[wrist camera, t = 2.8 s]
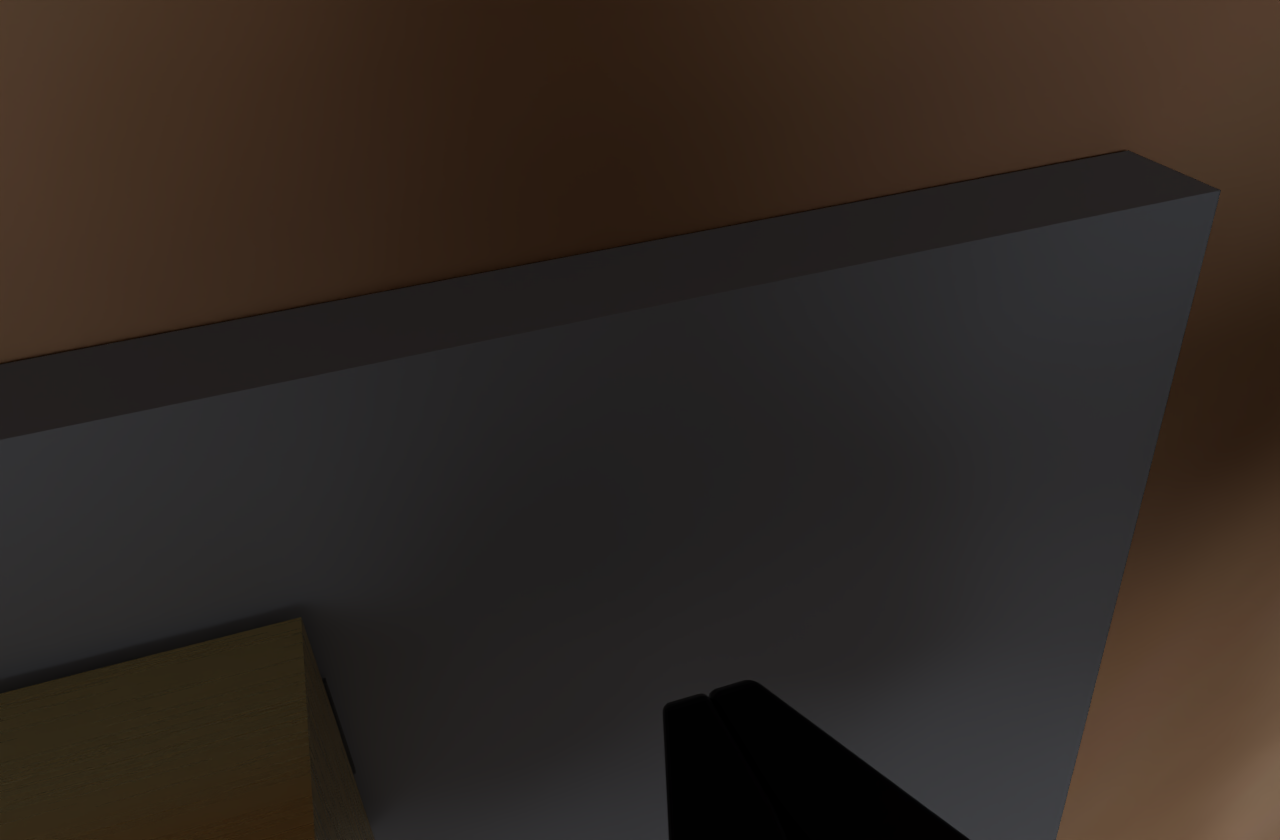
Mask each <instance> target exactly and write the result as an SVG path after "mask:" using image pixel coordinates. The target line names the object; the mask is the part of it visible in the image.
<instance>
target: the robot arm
mask: <svg viewBox="0 0 1280 840" xmlns="http://www.w3.org/2000/svg"><path fill="white" fill-rule="evenodd" d="M663 733H664V754H665V774H666V794H667V814H668V835H669V840H970V839H969V838H967V837H966V836H965V835H963V834H962V833H961V832H959V831H958V830H957V829H955V828H954V827H952V826H951V825H950V824H948V823H947V822H946V821H944V820H943V819H942V818H940V817H939V816H938V815H936V814H935V813H934V812H932V811H931V810H930V809H928V808H927V807H926V806H924V805H923V804H922V803H920V802H919V801H917V800H916V799H915V798H913V797H912V796H911V795H909V794H908V793H907V792H905V791H904V790H903V789H901V788H900V787H899V786H897V785H896V784H895V783H893V782H892V781H891V780H889V779H888V778H886V777H885V776H884V775H882V774H881V773H880V772H878V771H877V770H876V769H874V768H873V767H872V766H870V765H869V764H868V763H866V762H865V761H864V760H862V759H861V758H860V757H858V756H857V755H856V754H854V753H853V752H851V751H850V750H849V749H847V748H846V747H845V746H843V745H842V744H841V743H839V742H838V741H837V740H835V739H834V738H833V737H831V736H830V735H829V734H827V733H826V732H825V731H823V730H822V729H821V728H819V727H818V726H816V725H815V724H814V723H812V722H811V721H810V720H808V719H807V718H806V717H804V716H803V715H802V714H800V713H799V712H798V711H796V710H795V709H794V708H792V707H791V706H790V705H788V704H787V703H785V702H784V701H783V700H781V699H780V698H779V697H777V696H776V695H775V694H773V693H772V692H771V691H769V690H768V689H767V688H765V687H764V686H763V685H761V684H760V683H758V682H756V681H753V680H743V681H739V682H736V683H733V684H729V685H726V686H723V687H719V688H716V689H714V690H712V691H711V692H710V693H709V696H707V695H706V694H703V693H702V694H696V695H692V696H689V697H685V698H682V699H679V700H675V701H672V702H669V703H667V704H666V705H665V706H664V707H663Z"/></svg>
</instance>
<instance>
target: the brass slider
mask: <svg viewBox="0 0 1280 840" xmlns="http://www.w3.org/2000/svg"><path fill="white" fill-rule="evenodd" d="M0 840H375V838H374V835H373V832H372V829H371V826H370V823H369V820H368V816H367V813H366V810H365V807H364V804H363V801H362V798H361V795H360V792H359V789H358V786H357V783H356V780H355V777H354V774H353V771H352V768H351V765H350V762H349V759H348V756H347V753H346V750H345V747H344V744H343V741H342V738H341V735H340V732H339V729H338V726H337V723H336V720H335V717H334V714H333V711H332V708H331V705H330V702H329V699H328V696H327V693H326V690H325V687H324V684H323V681H322V678H321V675H320V672H319V669H318V666H317V663H316V660H315V657H314V654H313V651H312V648H311V645H310V642H309V639H308V636H307V633H306V630H305V627H304V624H303V621H302V618H301V617H299V618H295V619H291V620H287V621H283V622H280V623H276V624H272V625H268V626H264V627H260V628H256V629H252V630H248V631H244V632H240V633H236V634H232V635H228V636H225V637H221V638H217V639H213V640H209V641H205V642H201V643H197V644H193V645H189V646H185V647H181V648H177V649H173V650H170V651H166V652H162V653H158V654H154V655H150V656H146V657H142V658H138V659H134V660H130V661H126V662H122V663H118V664H115V665H111V666H107V667H103V668H99V669H95V670H91V671H87V672H83V673H79V674H75V675H71V676H67V677H63V678H60V679H56V680H52V681H48V682H44V683H40V684H36V685H32V686H28V687H24V688H20V689H16V690H12V691H8V692H5V693H1V694H0Z"/></svg>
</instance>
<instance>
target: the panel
mask: <svg viewBox="0 0 1280 840" xmlns="http://www.w3.org/2000/svg"><path fill="white" fill-rule="evenodd" d="M1220 191H1221V190H1219V189H1217V188H1214V187H1212V186H1210V185H1207V184H1205V183H1203V182H1200V181H1198V180H1196V179H1193V178H1191V177H1189V176H1186V175H1184V174H1182V173H1180V172H1177V171H1175V170H1173V169H1170V168H1168V167H1166V166H1163V165H1161V164H1159V163H1156V162H1154V161H1152V160H1149V159H1147V158H1145V157H1142V156H1140V155H1138V154H1135V153H1133V152H1131V151H1129V150H1128V151H1123V152H1118V153H1113V154H1107V155H1102V156H1097V157H1092V158H1086V159H1081V160H1076V161H1070V162H1065V163H1060V164H1055V165H1049V166H1044V167H1039V168H1034V169H1028V170H1023V171H1018V172H1012V173H1007V174H1002V175H997V176H991V177H986V178H981V179H976V180H970V181H965V182H960V183H955V184H949V185H944V186H939V187H933V188H928V189H923V190H918V191H912V192H907V193H902V194H897V195H891V196H886V197H881V198H875V199H870V200H865V201H860V202H854V203H849V204H844V205H839V206H833V207H828V208H823V209H817V210H812V211H807V212H802V213H796V214H791V215H786V216H781V217H775V218H770V219H765V220H759V221H754V222H749V223H744V224H738V225H733V226H728V227H723V228H717V229H712V230H707V231H701V232H696V233H691V234H686V235H680V236H675V237H670V238H665V239H659V240H654V241H649V242H643V243H638V244H633V245H628V246H622V247H617V248H612V249H607V250H601V251H596V252H591V253H585V254H580V255H575V256H570V257H564V258H559V259H554V260H549V261H543V262H538V263H533V264H527V265H522V266H517V267H512V268H506V269H501V270H496V271H491V272H485V273H480V274H475V275H469V276H464V277H459V278H454V279H448V280H443V281H438V282H433V283H427V284H422V285H417V286H411V287H406V288H401V289H396V290H390V291H385V292H380V293H375V294H369V295H364V296H359V297H353V298H348V299H343V300H338V301H332V302H327V303H322V304H317V305H311V306H306V307H301V308H295V309H290V310H285V311H280V312H274V313H269V314H264V315H259V316H253V317H248V318H243V319H237V320H232V321H227V322H222V323H216V324H211V325H206V326H201V327H195V328H190V329H185V330H179V331H174V332H169V333H164V334H158V335H153V336H148V337H143V338H137V339H132V340H127V341H122V342H116V343H111V344H106V345H100V346H95V347H90V348H85V349H79V350H74V351H69V352H64V353H58V354H53V355H48V356H42V357H37V358H32V359H27V360H21V361H16V362H11V363H6V364H0V694H1V693H5V692H8V691H12V690H16V689H20V688H24V687H28V686H32V685H36V684H40V683H44V682H48V681H52V680H56V679H60V678H63V677H67V676H71V675H75V674H79V673H83V672H87V671H91V670H95V669H99V668H103V667H107V666H111V665H115V664H118V663H122V662H126V661H130V660H134V659H138V658H142V657H146V656H150V655H154V654H158V653H162V652H166V651H170V650H173V649H177V648H181V647H185V646H189V645H193V644H197V643H201V642H205V641H209V640H213V639H217V638H221V637H225V636H228V635H232V634H236V633H240V632H244V631H248V630H252V629H256V628H260V627H264V626H268V625H272V624H276V623H280V622H283V621H287V620H291V619H295V618H299V617H301V618H302V621H303V624H304V627H305V630H306V633H307V636H308V639H309V642H310V645H311V648H312V651H313V654H314V657H315V660H316V663H317V666H318V669H319V672H320V675H321V678H322V681H323V684H324V687H325V690H326V693H327V696H328V699H329V702H330V705H331V708H332V711H333V714H334V717H335V720H336V723H337V726H338V729H339V732H340V735H341V738H342V741H343V744H344V747H345V750H346V753H347V756H348V759H349V762H350V765H351V768H352V771H353V774H354V777H355V780H356V783H357V786H358V789H359V792H360V795H361V798H362V801H363V804H364V807H365V810H366V813H367V816H368V820H369V823H370V826H371V829H372V832H373V835H374V838H375V840H669V835H668V814H667V794H666V774H665V754H664V733H663V707H664V706H665V705H666V704H667V703H669V702H672V701H675V700H679V699H682V698H685V697H689V696H692V695H696V694H702V693H703V694H706V695H707V696H709V693H710V692H711V691H712V690H714V689H716V688H719V687H723V686H726V685H729V684H733V683H736V682H739V681H743V680H753V681H756V682H758V683H760V684H761V685H763V686H764V687H765V688H767V689H768V690H769V691H771V692H772V693H773V694H775V695H776V696H777V697H779V698H780V699H781V700H783V701H784V702H785V703H787V704H788V705H790V706H791V707H792V708H794V709H795V710H796V711H798V712H799V713H800V714H802V715H803V716H804V717H806V718H807V719H808V720H810V721H811V722H812V723H814V724H815V725H816V726H818V727H819V728H821V729H822V730H823V731H825V732H826V733H827V734H829V735H830V736H831V737H833V738H834V739H835V740H837V741H838V742H839V743H841V744H842V745H843V746H845V747H846V748H847V749H849V750H850V751H851V752H853V753H854V754H856V755H857V756H858V757H860V758H861V759H862V760H864V761H865V762H866V763H868V764H869V765H870V766H872V767H873V768H874V769H876V770H877V771H878V772H880V773H881V774H882V775H884V776H885V777H886V778H888V779H889V780H891V781H892V782H893V783H895V784H896V785H897V786H899V787H900V788H901V789H903V790H904V791H905V792H907V793H908V794H909V795H911V796H912V797H913V798H915V799H916V800H917V801H919V802H920V803H922V804H923V805H924V806H926V807H927V808H928V809H930V810H931V811H932V812H934V813H935V814H936V815H938V816H939V817H940V818H942V819H943V820H944V821H946V822H947V823H948V824H950V825H951V826H952V827H954V828H955V829H957V830H958V831H959V832H961V833H962V834H963V835H965V836H966V837H967V838H969V839H970V840H1056V837H1057V833H1058V829H1059V825H1060V821H1061V817H1062V813H1063V809H1064V805H1065V801H1066V797H1067V793H1068V789H1069V785H1070V781H1071V778H1072V774H1073V770H1074V766H1075V762H1076V758H1077V754H1078V750H1079V746H1080V742H1081V738H1082V734H1083V730H1084V726H1085V722H1086V718H1087V715H1088V711H1089V707H1090V703H1091V699H1092V695H1093V691H1094V687H1095V683H1096V679H1097V675H1098V671H1099V667H1100V663H1101V659H1102V655H1103V652H1104V648H1105V644H1106V640H1107V636H1108V632H1109V628H1110V624H1111V620H1112V616H1113V612H1114V608H1115V604H1116V600H1117V596H1118V593H1119V589H1120V585H1121V581H1122V577H1123V573H1124V569H1125V565H1126V561H1127V557H1128V553H1129V549H1130V545H1131V541H1132V537H1133V533H1134V530H1135V526H1136V522H1137V518H1138V514H1139V510H1140V506H1141V502H1142V498H1143V494H1144V490H1145V486H1146V482H1147V478H1148V474H1149V471H1150V467H1151V463H1152V459H1153V455H1154V451H1155V447H1156V443H1157V439H1158V435H1159V431H1160V427H1161V423H1162V419H1163V415H1164V411H1165V408H1166V404H1167V400H1168V396H1169V392H1170V388H1171V384H1172V380H1173V376H1174V372H1175V368H1176V364H1177V360H1178V356H1179V352H1180V349H1181V345H1182V341H1183V337H1184V333H1185V329H1186V325H1187V321H1188V317H1189V313H1190V309H1191V305H1192V301H1193V297H1194V293H1195V289H1196V286H1197V282H1198V278H1199V274H1200V270H1201V266H1202V262H1203V258H1204V254H1205V250H1206V246H1207V242H1208V238H1209V234H1210V230H1211V227H1212V223H1213V219H1214V215H1215V211H1216V207H1217V203H1218V199H1219V195H1220Z"/></svg>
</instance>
